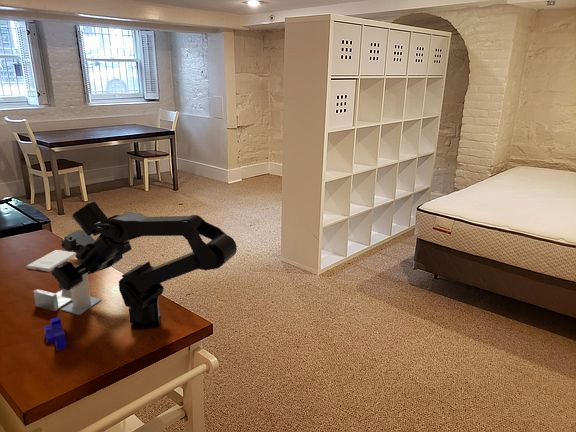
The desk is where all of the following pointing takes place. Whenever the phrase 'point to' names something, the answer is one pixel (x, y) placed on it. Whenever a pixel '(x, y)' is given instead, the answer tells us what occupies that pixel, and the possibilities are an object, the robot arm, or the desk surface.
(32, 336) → the desk surface
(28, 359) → the desk surface
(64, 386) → the desk surface
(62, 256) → the external hard drive
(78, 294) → the white upright post
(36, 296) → the bracket
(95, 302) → the pad
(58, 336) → the cable holder
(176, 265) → the robot arm
